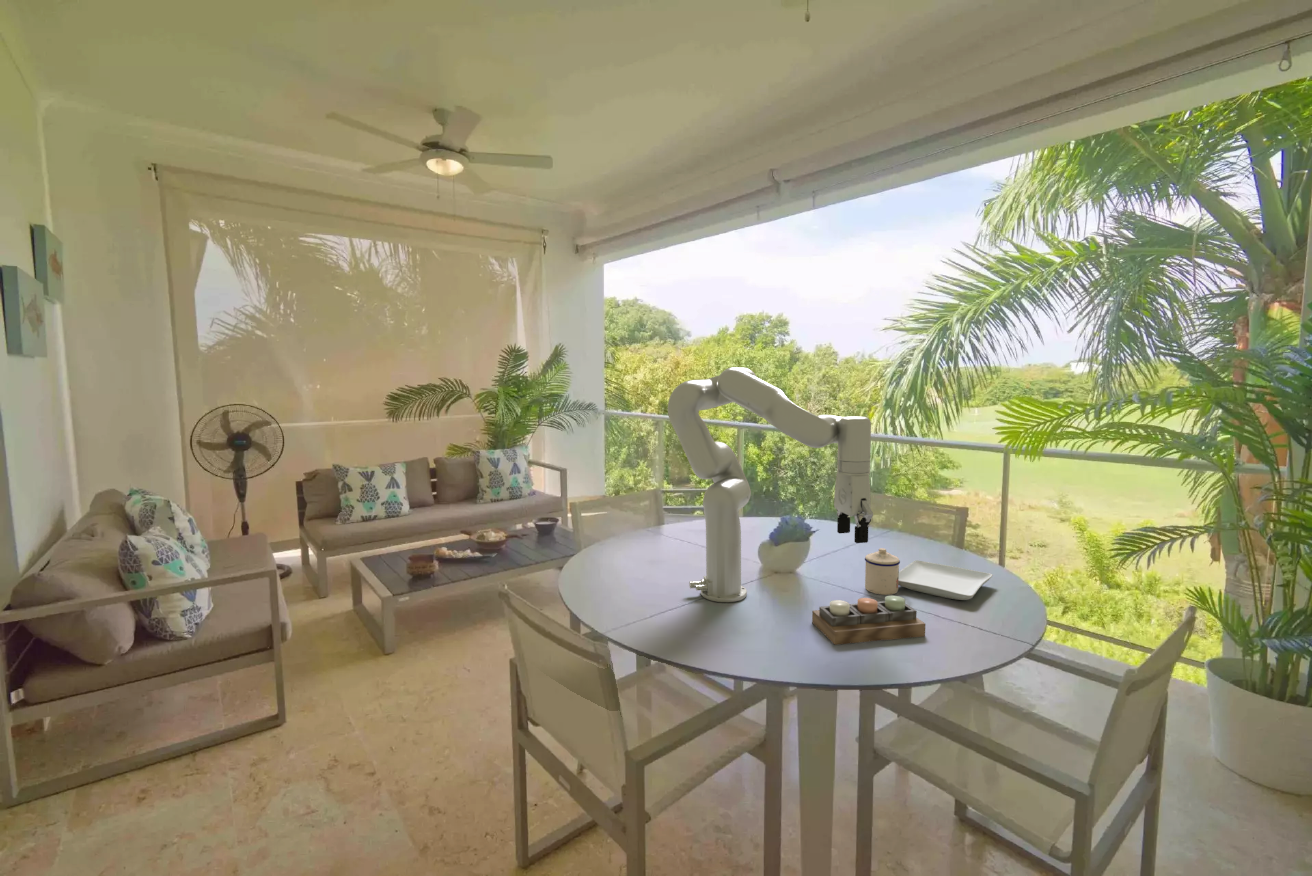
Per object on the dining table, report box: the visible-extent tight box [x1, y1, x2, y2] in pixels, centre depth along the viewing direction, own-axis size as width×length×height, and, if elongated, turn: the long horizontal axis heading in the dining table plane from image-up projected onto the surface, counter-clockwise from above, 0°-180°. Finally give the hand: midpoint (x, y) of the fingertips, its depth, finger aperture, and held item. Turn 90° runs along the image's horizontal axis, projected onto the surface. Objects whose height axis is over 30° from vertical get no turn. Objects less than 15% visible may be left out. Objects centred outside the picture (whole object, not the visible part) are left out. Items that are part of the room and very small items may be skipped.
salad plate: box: [898, 560, 994, 601], centre depth 164 cm, size 21×21×3 cm
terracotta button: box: [857, 597, 879, 614], centre depth 138 cm, size 4×4×2 cm
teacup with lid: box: [864, 547, 901, 596], centre depth 164 cm, size 12×9×12 cm
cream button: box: [829, 599, 851, 616], centre depth 136 cm, size 4×4×2 cm
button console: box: [811, 600, 926, 646], centre depth 138 cm, size 22×12×5 cm, turn 99°
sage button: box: [884, 595, 906, 612], centre depth 139 cm, size 4×4×2 cm
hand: (852, 537), depth 144 cm, fingers open, 8 cm apart
